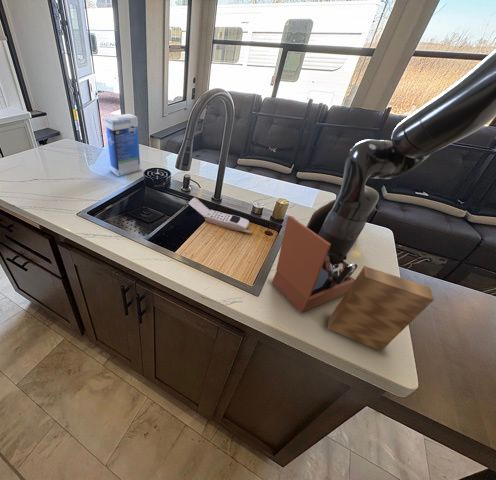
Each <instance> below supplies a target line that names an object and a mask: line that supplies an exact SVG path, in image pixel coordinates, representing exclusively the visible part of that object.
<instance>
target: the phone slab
mask: <svg viewBox="0 0 496 480" xmlns="http://www.w3.org/2000/svg"><path fill="white" fill-rule="evenodd" d="M327 278H328V272H327V271H325V270H324V269H323V268H322V269H321V271H320V274H319V276H318V279H317V281H316V284H315V286H314V289H313V291H312V294H311V296H312V295H314V294H317V293H319V292H322V291H324V289H323V288H322V286H323V284H324V283H325V281H326V279H327ZM335 284H336V282H335ZM335 284H334V285H335ZM334 285H333V287H334ZM325 290H326V289H325Z"/></svg>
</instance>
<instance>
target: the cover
mask: <svg viewBox="0 0 496 480" xmlns="http://www.w3.org/2000/svg"><path fill="white" fill-rule="evenodd" d="M330 246H331V244H330V243H329V242H327V241H326V240H324V239H323V238H322V237H320V236H319V235H317V234H316V233H314V232H313V231H311V230H310V229H309V228H307V225H304V224H303V223H301V222H300V221H299V220H297V219H295V217H293V216H291V215H288V216H287V218H286V223H285V227H284V232H283V236H282V240H281V246H280V250H279V255H278V260H277V264H276V269H275V271H278V272H279V273H280V274H281V275H282V276H283V277H284V278H285V279H286V280H287V281H288V282H289V283H290V284H291V285H292V286H293V287H294V288H296V289H297V290H298V291H299V292H300V293H301V294H302V295H303V296H304V297H305V298H306V299H307V300H309V299H310V296H311V294H312V291H313V289H314V286H315V284H316V281H317V279H318V276H319V274H320V271H321V269H322V266H323V263H324V261H325V258H326V256H327V253H328V251H329V248H330Z"/></svg>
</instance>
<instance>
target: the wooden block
mask: <svg viewBox="0 0 496 480" xmlns="http://www.w3.org/2000/svg"><path fill="white" fill-rule="evenodd" d="M354 279H355V281H354V282H353V284H352V285H351V287H350V288H349V289H348V291H347V292H346V293H345V294H343V297H342V298H341V299H340V301H339V302H338V304H337V306H336V307H335V308H334V310H333V311H332V313H331V315H330V316H329V317H328V324H327V329H328V330H330V331H332V332H335V333H337V334H340V335H341V336H344V337H346V338H349V339H351V340H353V341H355V342H358V343H361V344H363V345H364V346H365V345H366V346H367V347H370V348H373V349H375V350H377V351H379V352H382V351H383V350H384V349H385V348H387V346H388V345H389V344H391V342H392V341H393V340H394V339H395V338H396V337H397V336H399V335H400V334H401V332H402V331H404V330H405V329H406V328H407V327H408V326H409V325H410V324H411V323H412V322H413V321H414V320H415V319H416V318H417V317H418V316H419V315H420V314H421V313H422V312H424V310H426V309H427V308H428V306H430V304H431V303H433V302H434V300H435V299H434V296H433V292H432V289H431V287H430V286H427V285H425V284H422V283H418V282H415V281H413V280H409V279H406V278H403V277H399V276H397V275H393V274H391V273H387V272H384V271H381V270H378V269H376V268H372V267H369V266H366V265H365V266H363V268H362V269H361V270H360V272H359V273H358V274H357V276H356V278H354Z"/></svg>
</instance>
